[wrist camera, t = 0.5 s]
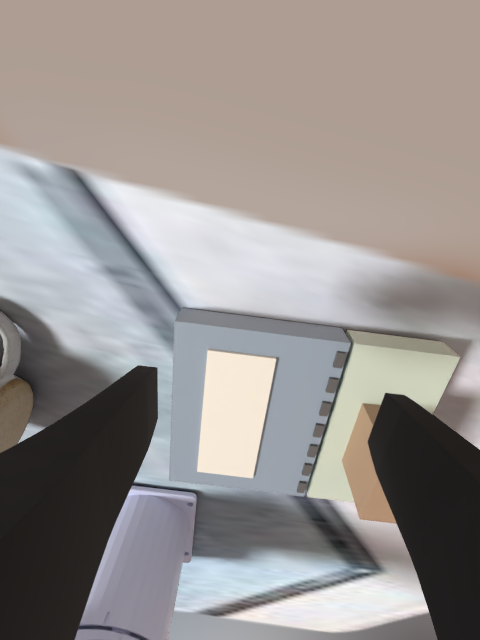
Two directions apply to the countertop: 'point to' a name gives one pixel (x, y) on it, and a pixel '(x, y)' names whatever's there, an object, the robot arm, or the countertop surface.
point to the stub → (373, 413)
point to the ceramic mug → (12, 388)
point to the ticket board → (251, 399)
